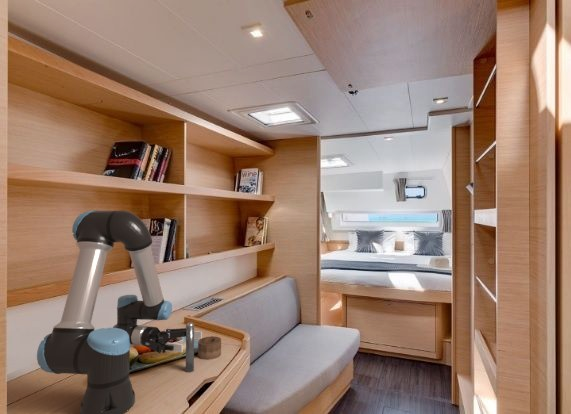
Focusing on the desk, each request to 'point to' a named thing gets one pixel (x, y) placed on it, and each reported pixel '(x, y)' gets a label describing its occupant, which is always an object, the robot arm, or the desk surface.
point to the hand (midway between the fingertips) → (192, 341)
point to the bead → (209, 347)
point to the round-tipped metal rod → (190, 347)
